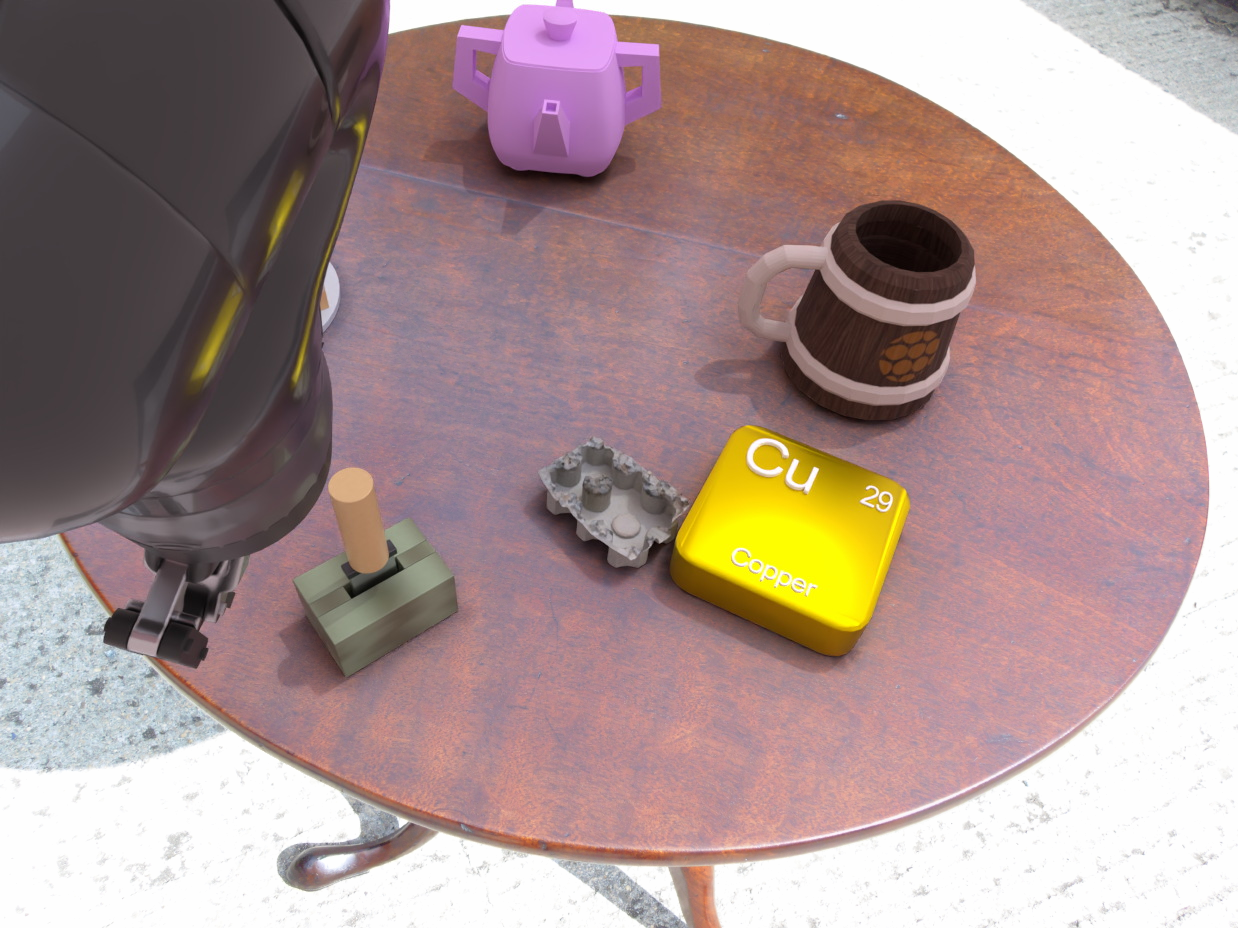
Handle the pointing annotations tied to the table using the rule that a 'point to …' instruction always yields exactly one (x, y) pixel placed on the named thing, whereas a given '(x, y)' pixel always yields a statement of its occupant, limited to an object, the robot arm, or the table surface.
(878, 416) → the mug
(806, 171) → the table surface
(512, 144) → the teapot
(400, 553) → the knife block
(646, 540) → the egg carton
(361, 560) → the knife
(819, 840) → the table surface
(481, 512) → the table surface
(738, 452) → the element tile
